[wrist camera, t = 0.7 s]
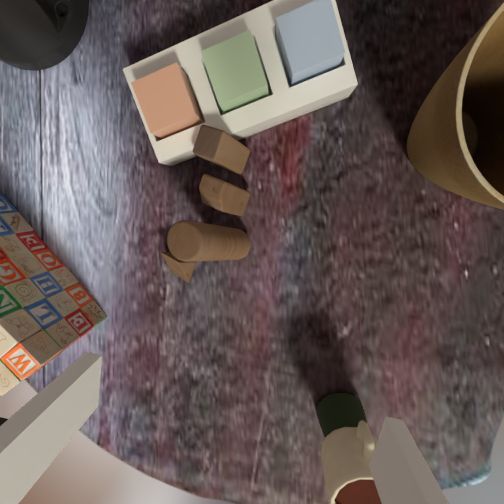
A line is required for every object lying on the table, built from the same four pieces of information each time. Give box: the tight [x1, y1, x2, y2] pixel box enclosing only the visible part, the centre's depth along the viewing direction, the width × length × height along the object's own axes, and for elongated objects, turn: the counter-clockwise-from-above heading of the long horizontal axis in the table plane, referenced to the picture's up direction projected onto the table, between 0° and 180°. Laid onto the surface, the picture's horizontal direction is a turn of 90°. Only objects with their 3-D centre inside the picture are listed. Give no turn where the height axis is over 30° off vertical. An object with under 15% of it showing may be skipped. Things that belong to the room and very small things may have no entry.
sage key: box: [201, 30, 269, 114], centre depth 29 cm, size 5×5×4 cm
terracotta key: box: [131, 62, 204, 139], centre depth 30 cm, size 5×5×4 cm
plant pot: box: [407, 3, 504, 209], centre depth 25 cm, size 15×15×16 cm
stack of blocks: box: [0, 194, 107, 395], centre depth 34 cm, size 21×6×12 cm, turn 37°
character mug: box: [317, 393, 382, 504], centre depth 34 cm, size 11×7×13 cm, turn 174°
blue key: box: [276, 0, 345, 87], centre depth 28 cm, size 5×5×4 cm
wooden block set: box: [161, 125, 251, 282], centre depth 32 cm, size 18×9×10 cm, turn 159°
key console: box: [123, 0, 358, 166], centre depth 32 cm, size 10×22×4 cm, turn 109°
